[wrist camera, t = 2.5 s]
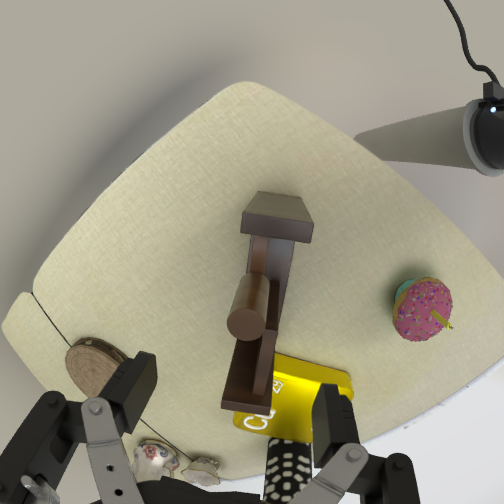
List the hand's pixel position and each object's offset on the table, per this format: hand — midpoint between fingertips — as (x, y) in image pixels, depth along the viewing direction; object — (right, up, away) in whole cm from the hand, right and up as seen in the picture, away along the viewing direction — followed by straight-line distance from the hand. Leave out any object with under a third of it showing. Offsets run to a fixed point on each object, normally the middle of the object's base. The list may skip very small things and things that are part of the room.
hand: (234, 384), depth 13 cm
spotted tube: (+8, -31, +34) cm, 47 cm away
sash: (+2, +7, +20) cm, 21 cm away
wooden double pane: (+3, +3, +23) cm, 24 cm away
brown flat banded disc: (-26, -16, +33) cm, 45 cm away
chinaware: (-19, -42, +41) cm, 61 cm away
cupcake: (+22, 0, +22) cm, 32 cm away
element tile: (+7, -16, +29) cm, 34 cm away
